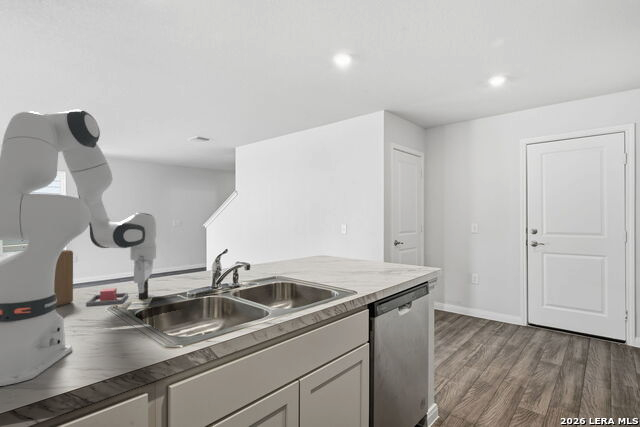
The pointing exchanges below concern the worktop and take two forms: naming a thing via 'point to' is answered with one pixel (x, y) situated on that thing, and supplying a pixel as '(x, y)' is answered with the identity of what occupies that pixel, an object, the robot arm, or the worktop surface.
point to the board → (140, 302)
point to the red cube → (108, 294)
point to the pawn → (145, 294)
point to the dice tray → (91, 303)
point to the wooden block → (64, 278)
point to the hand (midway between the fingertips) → (143, 289)
